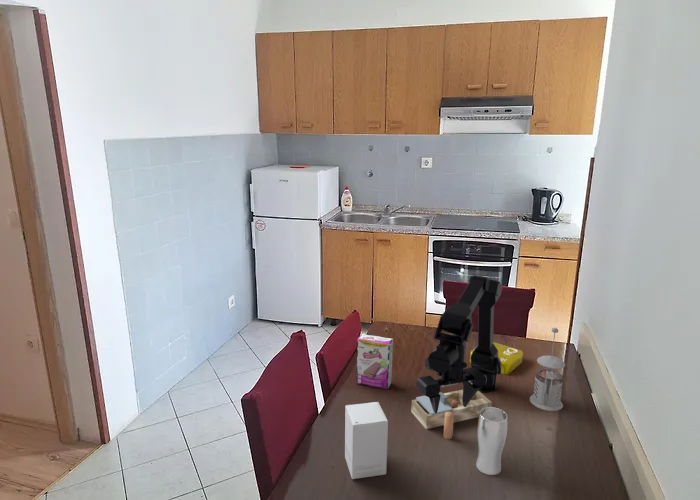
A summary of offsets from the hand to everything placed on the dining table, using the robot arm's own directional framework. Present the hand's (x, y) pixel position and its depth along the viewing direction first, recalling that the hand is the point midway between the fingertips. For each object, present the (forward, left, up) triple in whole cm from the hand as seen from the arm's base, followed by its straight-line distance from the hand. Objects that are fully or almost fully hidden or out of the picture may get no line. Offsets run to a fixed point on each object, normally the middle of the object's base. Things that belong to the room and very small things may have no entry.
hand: (449, 409), depth 129 cm
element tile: (-41, -33, -9) cm, 53 cm away
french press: (-38, -4, -9) cm, 39 cm away
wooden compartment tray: (-7, -9, -8) cm, 14 cm away
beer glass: (-3, +14, -9) cm, 17 cm away
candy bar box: (+8, -33, -9) cm, 35 cm away
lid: (-1, -9, -4) cm, 10 cm away
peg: (0, 0, -8) cm, 8 cm away
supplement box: (+26, +3, -9) cm, 28 cm away
